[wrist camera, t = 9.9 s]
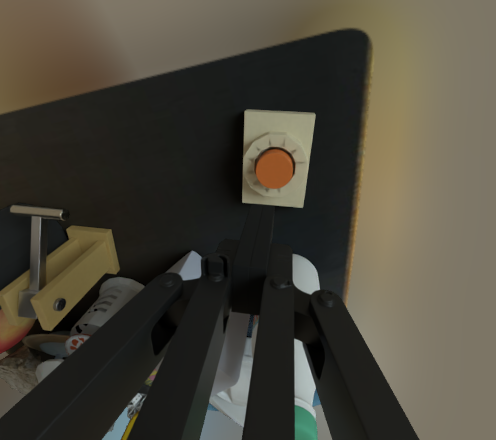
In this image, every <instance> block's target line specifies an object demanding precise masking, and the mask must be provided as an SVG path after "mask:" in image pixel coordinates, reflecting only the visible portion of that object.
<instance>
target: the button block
mask: <svg viewBox="0 0 496 440" xmlns="http://www.w3.org/2000/svg"><path fill="white" fill-rule="evenodd" d="M314 123H315V113H308V112H289V111H269V110H250V109H247V110H246V111H245V112H244V151H243V190H242V203H253V204H265V205H276V206H288V207H299V208H303V204H304V196H305V189H306V182H307V174H308V167H309V160H310V152H311V145H312V137H313V130H314ZM271 149H279V150H282V151H284V152H286V153H287V154H288V155H289V156H290V158H291V160H292V164H293V174H292V177H291V179H290V181H289V182H288V183H287V184H286V185H285V186H283V187H281V188H278V189H271V188H267V187H265V186H263V185H262V184H261V183H260V182H259V180H258V179H257V176H256V165H257V163H258V160H259V158H260V156H261V155H262V154H263V153H264V152H266V151H268V150H271Z"/></svg>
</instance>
